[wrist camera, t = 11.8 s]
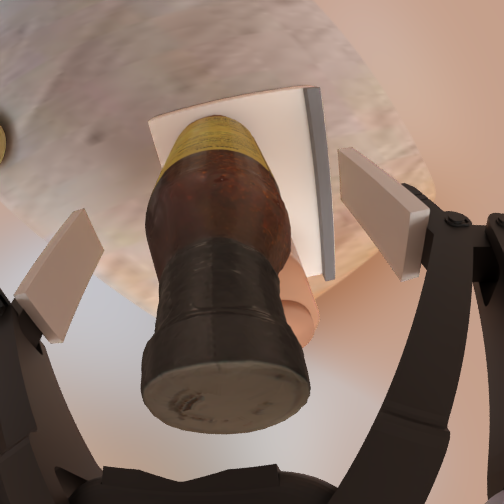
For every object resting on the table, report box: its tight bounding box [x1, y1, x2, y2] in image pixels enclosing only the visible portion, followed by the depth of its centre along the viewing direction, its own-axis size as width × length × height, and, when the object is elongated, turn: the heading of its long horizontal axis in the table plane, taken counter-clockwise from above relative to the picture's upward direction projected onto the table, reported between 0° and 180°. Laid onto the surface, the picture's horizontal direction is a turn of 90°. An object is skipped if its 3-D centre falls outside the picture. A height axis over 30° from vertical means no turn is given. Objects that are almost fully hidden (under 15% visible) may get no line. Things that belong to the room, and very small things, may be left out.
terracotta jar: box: [278, 238, 320, 348], centre depth 24 cm, size 6×6×10 cm
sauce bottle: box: [141, 115, 311, 434], centre depth 14 cm, size 6×6×20 cm
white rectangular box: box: [148, 85, 335, 281], centre depth 26 cm, size 18×13×4 cm
